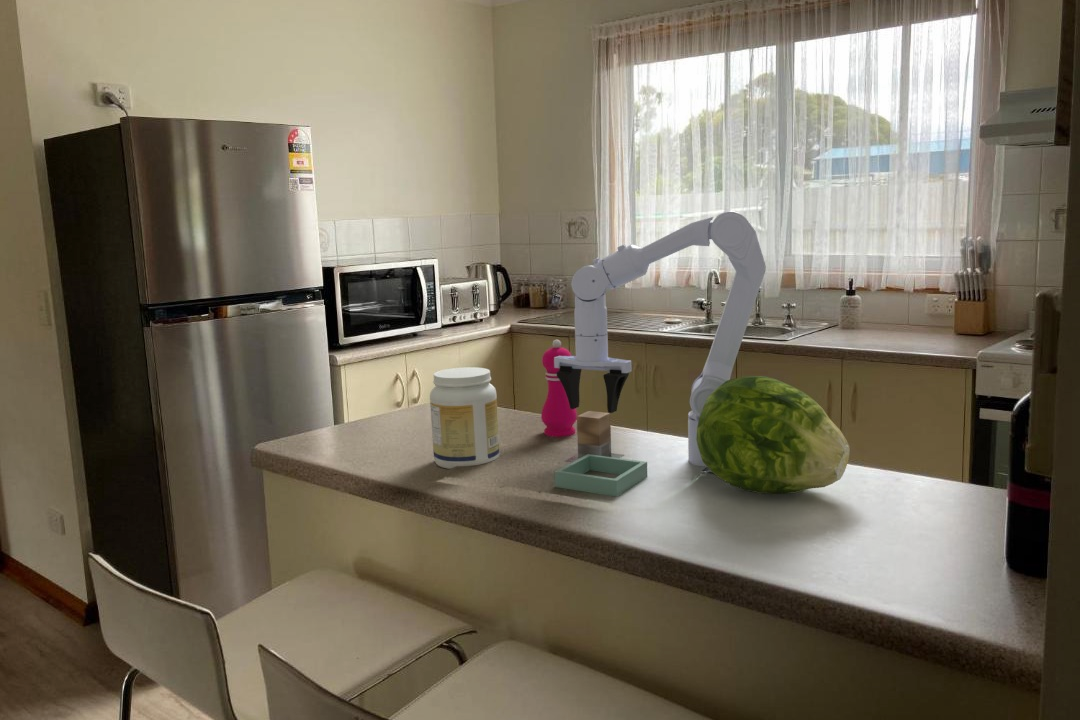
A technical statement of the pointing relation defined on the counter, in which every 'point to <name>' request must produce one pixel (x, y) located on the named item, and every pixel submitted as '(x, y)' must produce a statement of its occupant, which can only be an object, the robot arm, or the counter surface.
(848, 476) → the counter surface
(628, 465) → the bin
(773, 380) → the lettuce
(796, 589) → the counter surface
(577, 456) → the base
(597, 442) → the strut
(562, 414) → the pepper mill
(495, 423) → the supplement tub
